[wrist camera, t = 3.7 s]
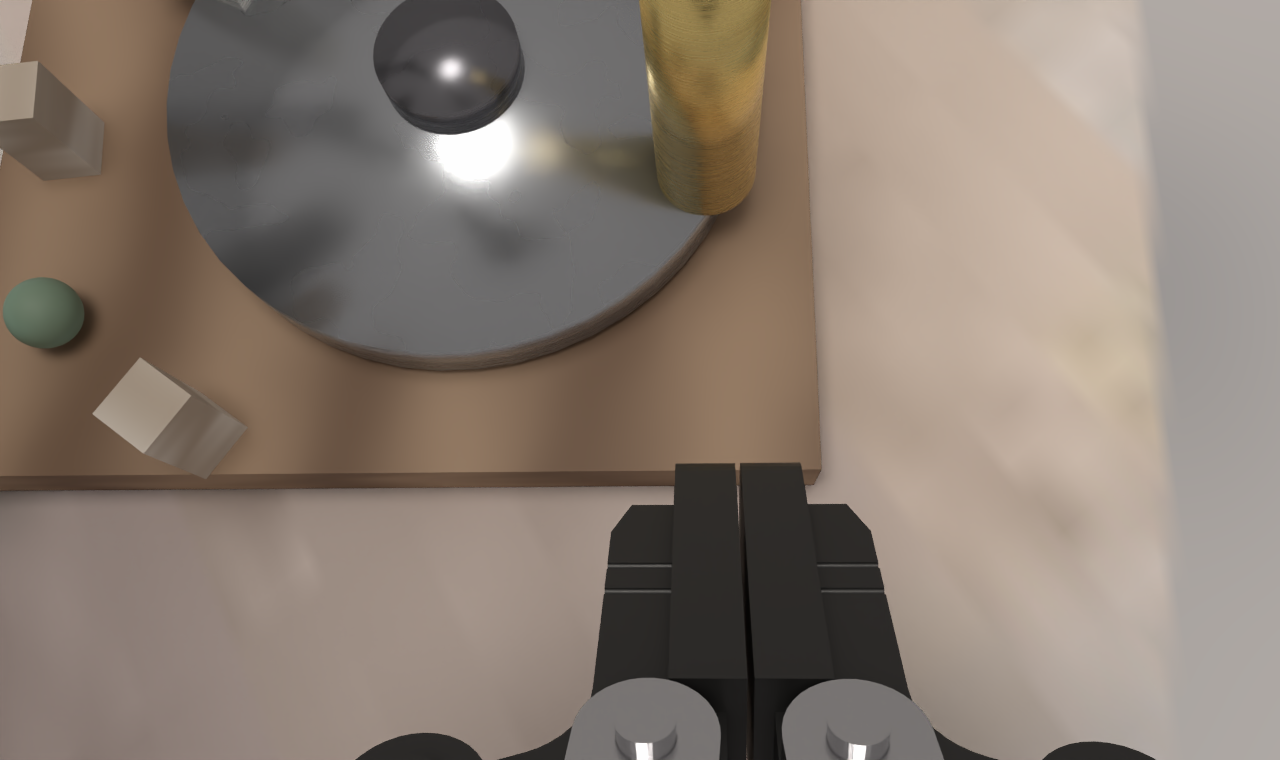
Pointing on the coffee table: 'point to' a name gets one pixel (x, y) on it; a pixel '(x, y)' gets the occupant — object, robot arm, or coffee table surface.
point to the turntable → (326, 376)
